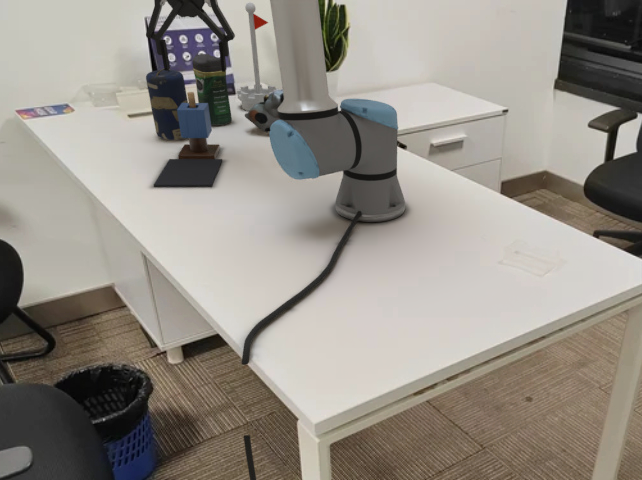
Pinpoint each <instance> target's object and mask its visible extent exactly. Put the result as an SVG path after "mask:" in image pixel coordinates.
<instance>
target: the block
mask: <svg viewBox="0 0 642 480" xmlns="http://www.w3.org/2000/svg"><path fill="white" fill-rule="evenodd" d="M195 103H196V108H190V107H189V102H188V103H181V105H180V106H179V108H178V109H177V114H178V120H179V126H180V132H181V138H184V139H189V138H206V139H209V137H210V135H211V133H212V131H213V130H212V125H211V121H210V114H209V107H208V103H198V102H195Z"/></svg>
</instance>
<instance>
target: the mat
mask: <svg viewBox="0 0 642 480" xmlns="http://www.w3.org/2000/svg"><path fill="white" fill-rule="evenodd" d="M222 163H223V158H216V159H179V158H169V159H168V161H166V164H165V166H164V167H163V169H162V171H161V172H160V174H159V175H158V177H157V179H156V180H155V182H154V183H153V188H212V187H213V185H214V182H215V181H216V179H217V175H218V173H219V171H220V168H221V166H222Z"/></svg>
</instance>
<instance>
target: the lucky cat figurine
mask: <svg viewBox="0 0 642 480" xmlns="http://www.w3.org/2000/svg"><path fill="white" fill-rule="evenodd" d="M283 100H284V95H283V88H282V89H279V90H276V91H274V92H272V93H271V94H270V95H269V96H268V95H265V96H264V102H260V103H258V104H256V105H254V106H253V107H252V108H251V109H250V111H247V112H246V113H244V117H245V119H247V120H248V122H251V123H252V124H253V125H254V126H255V127H256V128H258V129H260V130H261V131H263V132H265V133H270V131H271V130H270V127H271V125H272V124H273V123H274V122H275V121H277V120H279V116H278V107H279V106H280V105H281V103H282V102H283Z"/></svg>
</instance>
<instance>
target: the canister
mask: <svg viewBox="0 0 642 480" xmlns="http://www.w3.org/2000/svg"><path fill="white" fill-rule="evenodd" d="M145 80H146V86H147V91H148V97H149V102H150V108H151V114H152V118H153V122H154V128H155V134H156V135H157V137H158V138H159V139H163V140H166V141H179V140H184V139H185V138H181V132H180V126H179V120H178V114H177V109H178V108H179V106H180V105H181V103H189V101H188V94H187V90H186V83H185V79H184V74H183V73H182V72H180V71H178V70H173V69H171V68H170V69H169V70H168V71H164V68H161V69H158V70H152V71H149V72H148V73H147V74H146V75H145Z"/></svg>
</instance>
